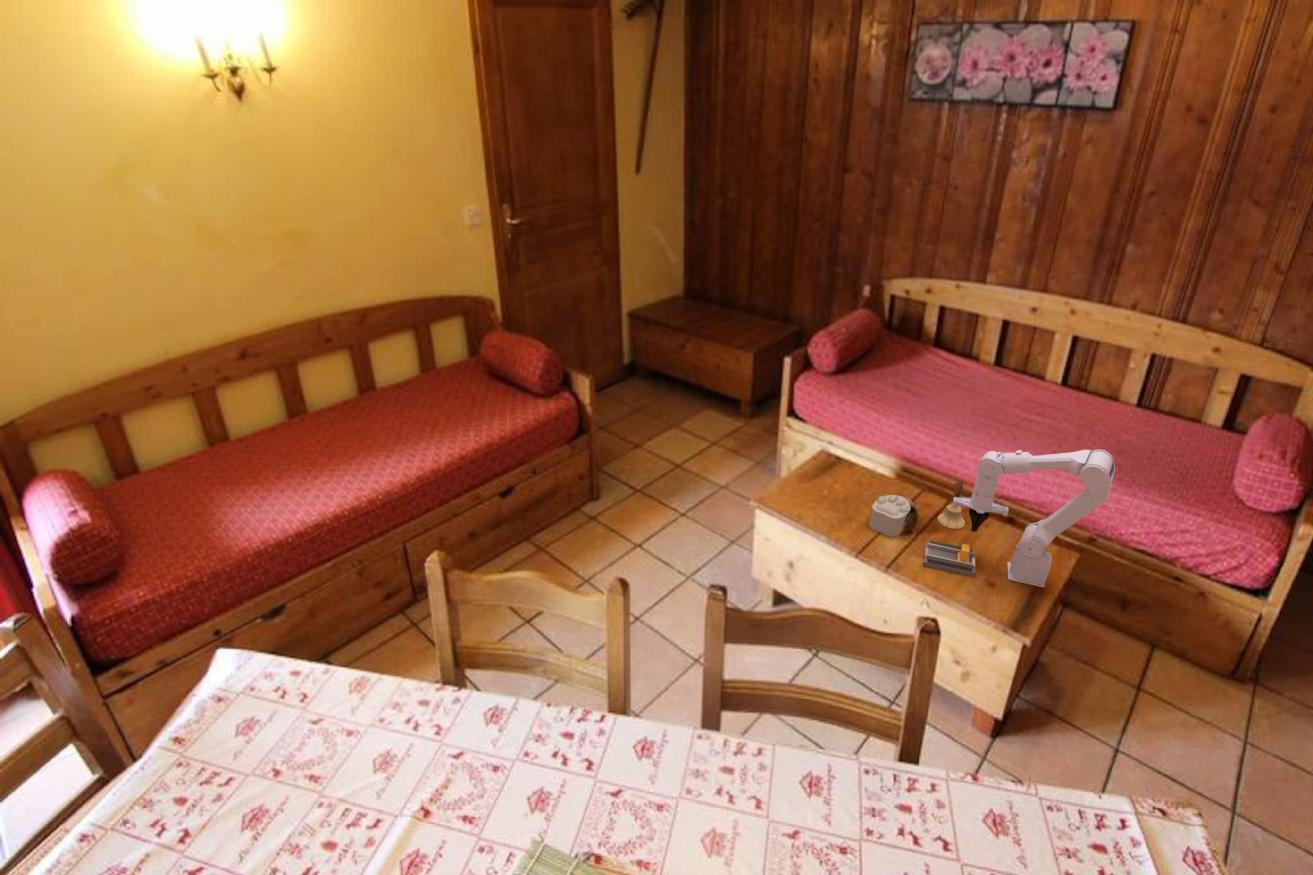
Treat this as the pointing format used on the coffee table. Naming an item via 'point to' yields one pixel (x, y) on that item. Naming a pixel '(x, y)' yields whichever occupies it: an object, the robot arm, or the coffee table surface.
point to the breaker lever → (964, 553)
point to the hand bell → (953, 511)
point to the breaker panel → (948, 558)
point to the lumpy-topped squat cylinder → (889, 514)
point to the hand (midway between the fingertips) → (973, 529)
